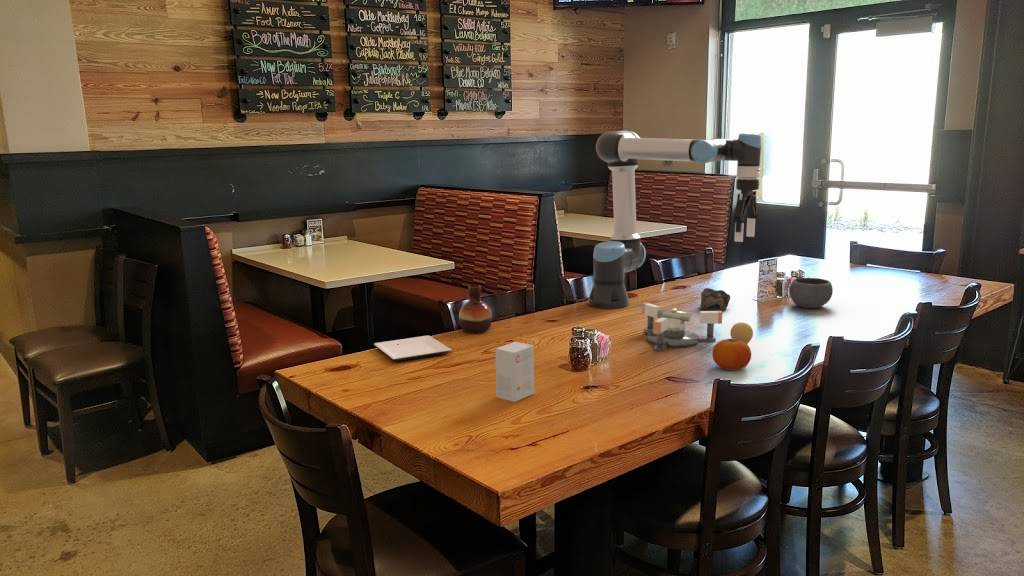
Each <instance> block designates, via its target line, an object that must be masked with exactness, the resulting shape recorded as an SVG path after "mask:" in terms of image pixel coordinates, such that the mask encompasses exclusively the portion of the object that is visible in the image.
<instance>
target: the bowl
mask: <svg viewBox="0 0 1024 576" xmlns="http://www.w3.org/2000/svg"><path fill="white" fill-rule="evenodd" d="M833 291H834V289H833V285H832V282H831V281H830V280H827V279H823V278H819V277H817V278H816V277H799V278H794V279H793V280H792V281H791V283H790V285H789V296H790V298H791V300H792V302H793V303H794V304H795V305H796V306H798V307H800V308H805V309H817V308H820V307H823V306H824V305H826V304H828V303H829V301H831V299H832V297H833Z"/></svg>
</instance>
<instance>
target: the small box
mask: <svg viewBox="0 0 1024 576" xmlns="http://www.w3.org/2000/svg"><path fill="white" fill-rule="evenodd" d="M494 350H495V351H494V352H495V353H494V354H495V392H496V398H498V399H501V400H505V401H508V402H513V403H516V402H518V401H520V400H523V399H525V398H527V397H529V396H531V395H535V369H534V367H535V366H534V365H535V360H534V358H535V356H534V352H535V351H534V345H532V344H528V343H525V342H524V343H523V342H519V341H513V342H510V343H508V344H505V345H502V346H499V347H495V348H494Z"/></svg>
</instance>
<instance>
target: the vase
mask: <svg viewBox="0 0 1024 576" xmlns="http://www.w3.org/2000/svg"><path fill="white" fill-rule="evenodd" d="M481 289H482V286H481V285H480V284H469V285H468V294H469V299H468V301H467V302H465V303H464V304H463V305H462V306H461V308H460V310H459V314H458V321H459V325H460V328H461V330H463V332H465V333H467V334H482V333H486V332H487V331H488V330H489V329H490V327H491V325H492V319H493V314H492V310H491V308H490V306H489V305H488V304H487V303H486V302H484V301H482V299H481V297H482V296H481V295H482V294H481V293H482V291H481Z"/></svg>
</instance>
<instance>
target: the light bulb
mask: <svg viewBox="0 0 1024 576" xmlns="http://www.w3.org/2000/svg"><path fill="white" fill-rule="evenodd" d="M753 336H754V330H753V328H752V326H751V325H750V324H749V323H746V322H737V323H735V324H733V325H732V326H731V329H730V337H731V338H730V339H737V340H740V341H743V342H745V343H746V344H747V345H748V344H749V343H750V341H751V340H752V339H753Z"/></svg>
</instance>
